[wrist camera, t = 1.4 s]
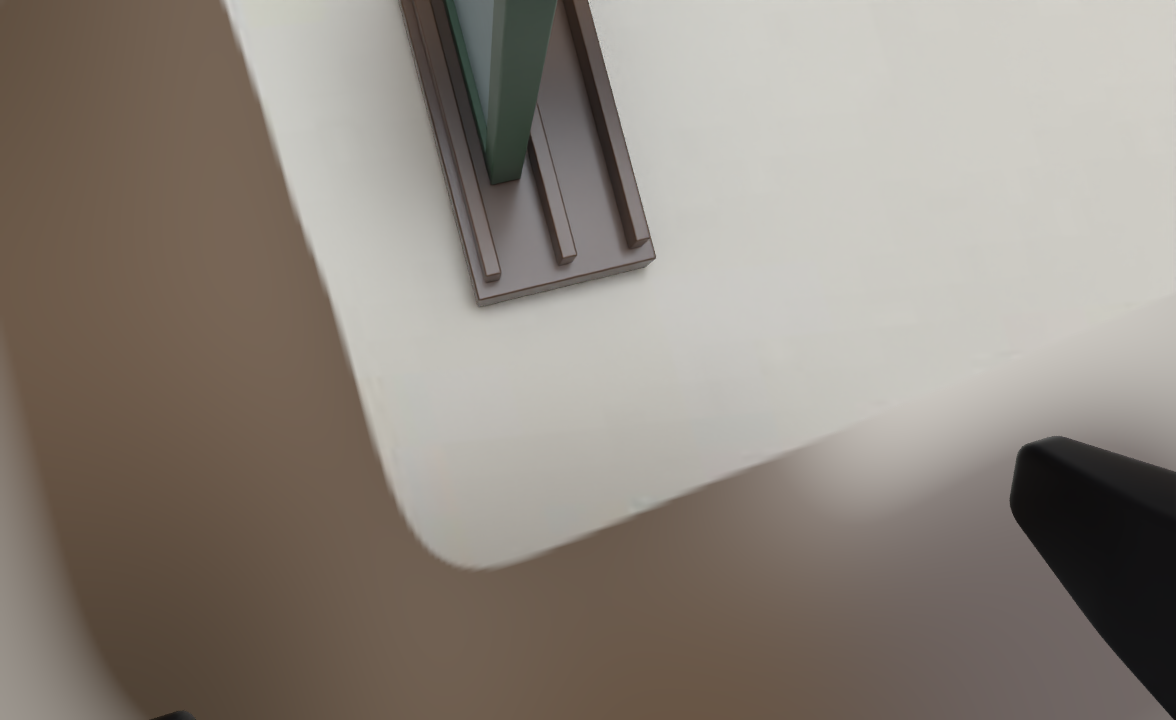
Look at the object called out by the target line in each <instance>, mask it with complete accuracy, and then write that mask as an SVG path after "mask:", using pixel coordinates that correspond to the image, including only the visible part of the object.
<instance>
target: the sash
mask: <svg viewBox="0 0 1176 720" xmlns="http://www.w3.org/2000/svg"><path fill="white" fill-rule="evenodd" d="M443 3H444V7H445V11H446V15H447V19H448V22H449V26H450V30H451V34H452V38H453V42H454V45H455V49H456V53H457V57H458V61H459V65H460V68H461V72H462V76H463V80H464V84H465V88H466V91H467V95H468V99H469V103H470V107H471V111H472V114H473V118H474V122H475V126H476V130H477V134H478V137H479V141H480V145H481V149H482V153H483V157H484V160H485V164H486V168H487V172H488V176H489V180H490V183H491V184H492V185H493V184H497V183H502V182H507V181H511V180H516V179H520V178H521V175H522V168H523V164H524V159H525V154H526V149H527V144H528V140H529V135H530V130H531V125H532V120H533V116H534V111H535V106H536V101H537V96H538V92H539V87H540V82H541V77H542V72H543V68H544V63H545V58H546V53H547V48H548V44H549V39H550V34H551V29H552V24H553V20H554V15H555V10H556V5H557V0H443Z"/></svg>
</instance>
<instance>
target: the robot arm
mask: <svg viewBox="0 0 1176 720" xmlns="http://www.w3.org/2000/svg"><path fill="white" fill-rule="evenodd" d="M1010 507H1011V510H1012V513H1013V516H1014V518H1015V520H1016V521H1017V523H1018V524H1019V526H1020V527H1021V528H1022V530H1023V531H1024V533H1025V534H1026V535H1027V537H1028V538H1029V539H1030V541H1031V542H1032V543H1033V545H1034V546H1035V547H1036V549H1037V550H1038V552H1039V553H1040V554H1041V556H1042V557H1043V558H1044V560H1045V561H1046V563H1047V564H1048V565H1049V567H1050V568H1051V569H1052V571H1053V572H1054V574H1055V575H1056V576H1057V578H1058V579H1059V580H1060V582H1061V583H1062V585H1063V586H1064V587H1065V589H1066V590H1067V591H1068V593H1069V594H1070V595H1071V596H1072V598H1073V600H1074V601H1075V602H1076V604H1077V605H1078V606H1079V608H1080V609H1081V610H1082V612H1083V613H1084V615H1085V616H1086V617H1087V619H1088V620H1089V621H1090V622H1091V624H1092V625H1093V626H1094V628H1095V629H1096V630H1097V631H1098V633H1099V634H1100V635H1101V637H1102V638H1103V639H1104V640H1105V642H1106V643H1107V644H1108V645H1109V646H1110V647H1111V648H1112V650H1113V651H1114V652H1115V653H1116V654H1117V656H1118V657H1119V658H1120V659H1121V660H1122V661H1123V662H1124V664H1125V665H1126V666H1127V667H1128V668H1129V669H1130V670H1131V671H1132V673H1133V674H1134V675H1135V676H1136V677H1137V678H1138V680H1139V681H1140V682H1141V683H1142V684H1143V685H1144V686H1145V687H1146V689H1147V690H1148V691H1149V692H1150V693H1151V694H1152V695H1153V696H1154V697H1155V699H1156V700H1157V701H1158V702H1159V703H1160V704H1161V705H1162V706H1163V708H1164V709H1165V710H1166V711H1167V712H1168V713H1169V715H1170V716H1171V717H1172V718H1173V719H1174V720H1176V472H1174V471H1171V470H1168V469H1165V468H1162V467H1158V466H1155V465H1152V464H1149V463H1146V462H1143V461H1139V460H1136V459H1133V458H1129V457H1127V456H1123V455H1120V454H1117V453H1113V452H1111V451H1107V450H1104V449H1101V448H1098V447H1095V446H1091V445H1088V444H1085V443H1082V442H1078V441H1075V440H1072V439H1069V438H1066V437H1062V436H1052V437H1047V438H1044V439H1041V440H1038V441H1035V442H1032V443H1028V444H1026V445H1024V446H1022V448H1021V449H1020V450H1019V452H1018V454H1017V458H1016V464H1015V470H1014V476H1013V482H1012V487H1011V494H1010ZM151 720H196V719H195V718H194V717H193V715H192V714H190V713H189V712H186V711H176V712H173V713H170V714H167V715H164V716H160V717H157V718H154V719H151Z"/></svg>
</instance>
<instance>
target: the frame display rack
mask: <svg viewBox="0 0 1176 720" xmlns="http://www.w3.org/2000/svg"><path fill="white" fill-rule="evenodd" d="M398 1H399V4H400V8H401V12H402V16H403V20H404V24H405V28H406V31H407V35H408V39H409V43H410V47H411V51H412V55H413V58H414V62H415V66H416V70H417V74H418V78H419V82H420V85H421V89H422V93H423V97H424V101H425V105H426V109H427V112H428V116H429V120H430V124H431V128H432V132H433V136H434V139H435V143H436V147H437V151H438V155H439V159H440V163H441V166H442V170H443V174H444V178H445V182H446V186H447V190H448V193H449V197H450V201H451V205H452V209H453V213H454V217H455V220H456V224H457V228H458V232H459V236H460V240H461V244H462V247H463V251H464V255H465V259H466V263H467V267H468V271H469V274H470V278H471V282H472V286H473V290H474V294H475V298H476V301H477V305H478V307H481V306H486V305H490V304H494V303H498V302H502V301H506V300H510V299H515V298H519V297H523V296H527V295H531V294H535V293H539V292H544V291H548V290H552V289H556V288H560V287H564V286H569V285H573V284H577V283H581V282H585V281H589V280H593V279H598V278H602V277H606V276H610V275H614V274H618V273H622V272H627V271H631V270H635V269H639V268H643V267H646V266H647V265H649V264H650V263H651V262H652V261H653V260H655V259H656V255H655V251H654V247H653V243H652V240H651V236H650V232H649V228H648V225H647V221H646V217H645V213H644V210H643V206H642V202H641V198H640V195H639V191H638V187H637V183H636V180H635V176H634V172H633V168H632V165H631V161H630V157H629V153H628V150H627V146H626V142H625V138H624V134H623V131H622V127H621V123H620V119H619V116H618V112H617V108H616V104H615V101H614V97H613V93H612V89H611V86H610V82H609V78H608V74H607V71H606V67H605V63H604V59H603V56H602V52H601V48H600V44H599V41H598V37H597V33H596V29H595V25H594V22H593V18H592V14H591V10H590V7H589V3H588V0H557V5H556V10H555V15H554V20H553V24H552V29H551V34H550V39H549V44H548V48H547V53H546V58H545V63H544V68H543V72H542V77H541V82H540V87H539V92H538V96H537V101H536V106H535V111H534V116H533V120H532V125H531V130H530V135H529V140H528V144H527V149H526V154H525V159H524V164H523V168H522V175H521V178H520V179H516V180H511V181H507V182H502V183H497V184H493V185H492V184H491V183H490V180H489V176H488V172H487V168H486V164H485V160H484V157H483V153H482V149H481V145H480V141H479V137H478V134H477V130H476V126H475V122H474V118H473V114H472V111H471V107H470V103H469V99H468V95H467V91H466V88H465V84H464V80H463V76H462V72H461V68H460V65H459V61H458V57H457V53H456V49H455V45H454V42H453V38H452V34H451V30H450V26H449V22H448V19H447V15H446V11H445V7H444V3H443V0H398Z"/></svg>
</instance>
